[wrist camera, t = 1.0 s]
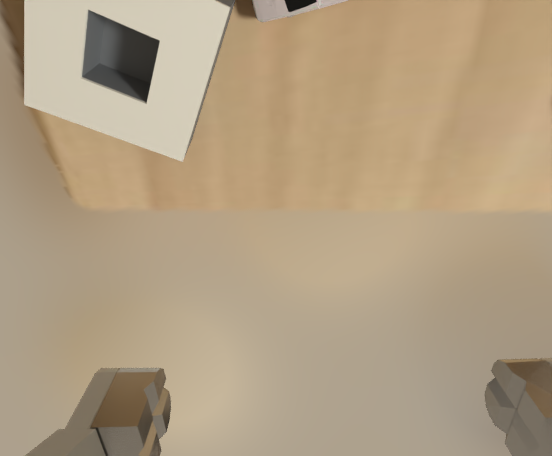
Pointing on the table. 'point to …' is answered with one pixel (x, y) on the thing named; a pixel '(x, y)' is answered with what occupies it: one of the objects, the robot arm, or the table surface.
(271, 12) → the mobile phone
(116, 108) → the socket block
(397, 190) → the table surface
